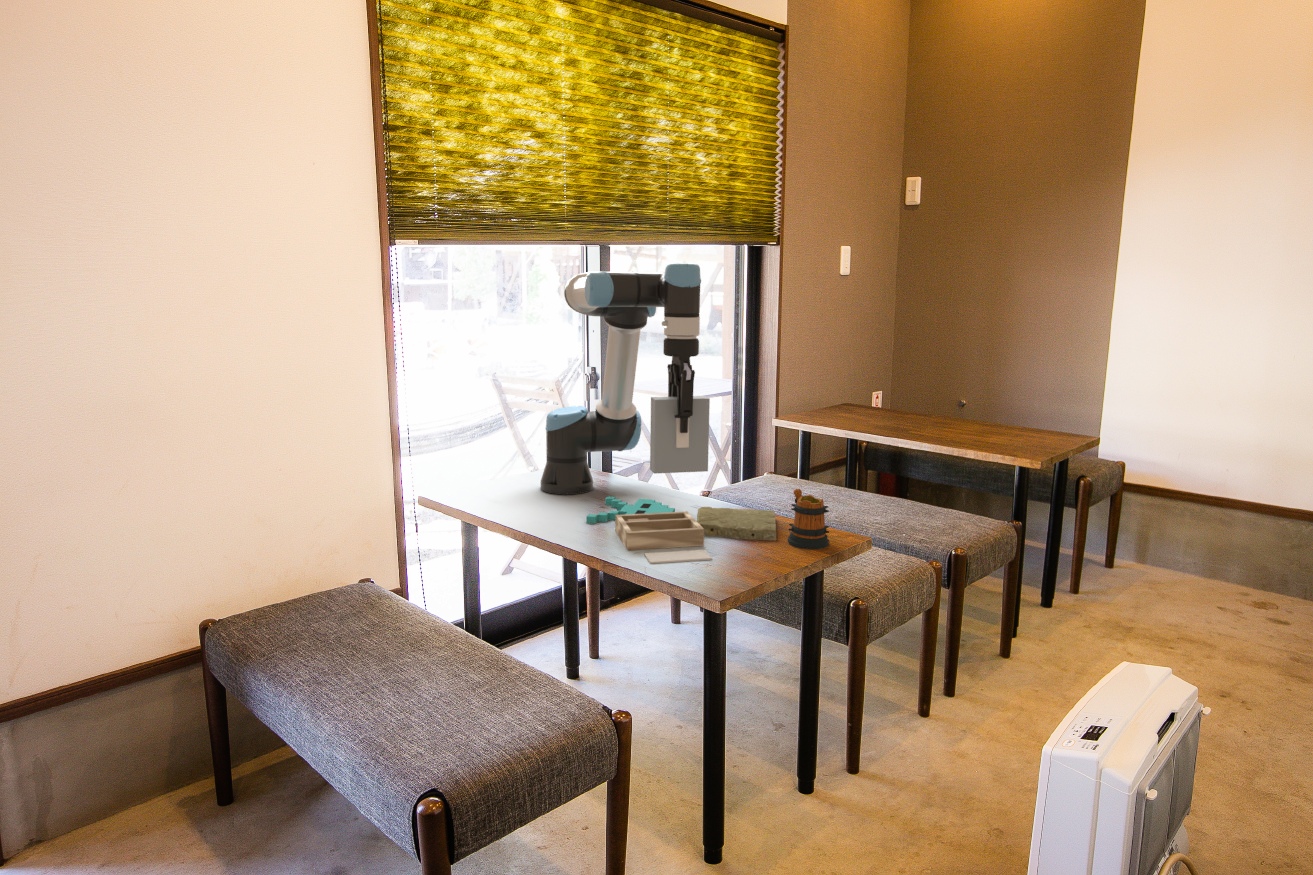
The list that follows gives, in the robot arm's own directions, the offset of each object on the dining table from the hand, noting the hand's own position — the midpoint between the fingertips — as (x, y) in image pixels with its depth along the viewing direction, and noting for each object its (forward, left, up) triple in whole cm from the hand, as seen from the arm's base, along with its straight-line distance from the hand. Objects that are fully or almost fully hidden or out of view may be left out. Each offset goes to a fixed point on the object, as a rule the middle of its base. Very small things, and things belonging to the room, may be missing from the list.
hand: (679, 444), depth 191 cm
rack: (-14, -1, -25) cm, 29 cm away
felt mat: (+1, 0, -25) cm, 25 cm away
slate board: (0, 0, -6) cm, 6 cm away
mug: (-5, +33, -26) cm, 42 cm away
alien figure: (-34, -2, -26) cm, 43 cm away
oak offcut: (-18, -5, -26) cm, 32 cm away
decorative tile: (-19, +20, -26) cm, 38 cm away
